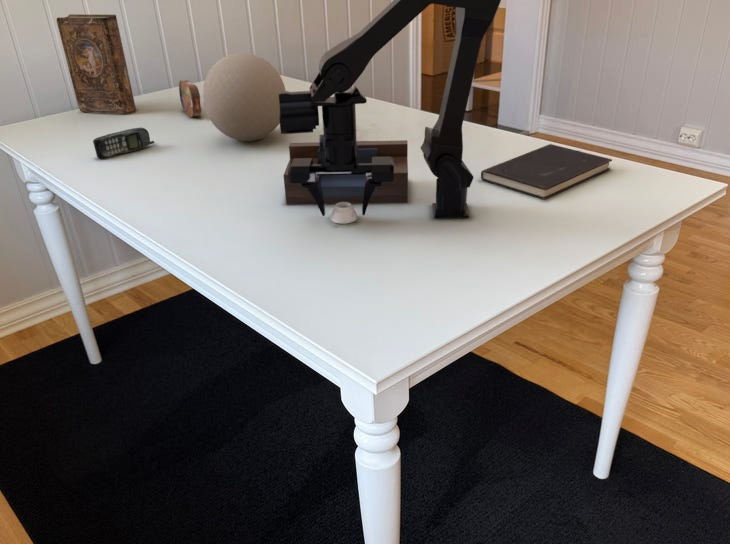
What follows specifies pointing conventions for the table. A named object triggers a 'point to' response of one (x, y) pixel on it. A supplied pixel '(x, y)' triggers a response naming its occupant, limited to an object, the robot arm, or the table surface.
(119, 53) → the book
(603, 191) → the table surface
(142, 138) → the mobile phone
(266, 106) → the decorative sphere
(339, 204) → the lidless jar
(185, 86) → the tin
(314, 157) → the toy sofa
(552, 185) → the hardcover book
